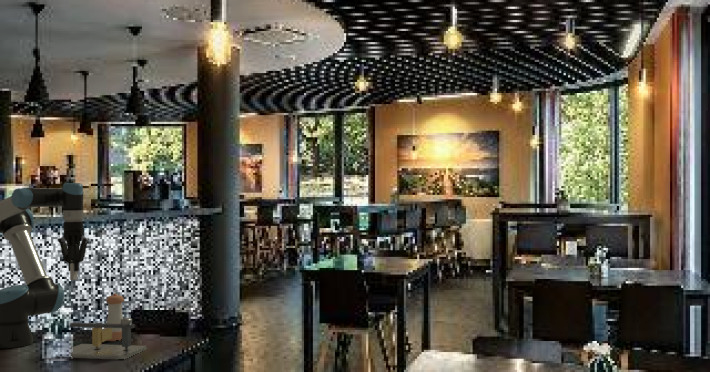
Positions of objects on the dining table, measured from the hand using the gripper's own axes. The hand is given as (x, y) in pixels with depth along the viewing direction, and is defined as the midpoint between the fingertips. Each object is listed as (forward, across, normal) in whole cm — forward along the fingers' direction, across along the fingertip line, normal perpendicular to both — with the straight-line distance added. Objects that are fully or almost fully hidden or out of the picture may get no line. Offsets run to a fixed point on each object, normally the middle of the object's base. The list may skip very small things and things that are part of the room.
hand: (73, 279), depth 272 cm
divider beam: (+24, +20, -12) cm, 34 cm away
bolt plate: (+26, +20, -12) cm, 35 cm away
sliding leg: (+24, +18, -9) cm, 31 cm away
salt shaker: (+27, +11, +12) cm, 31 cm away
